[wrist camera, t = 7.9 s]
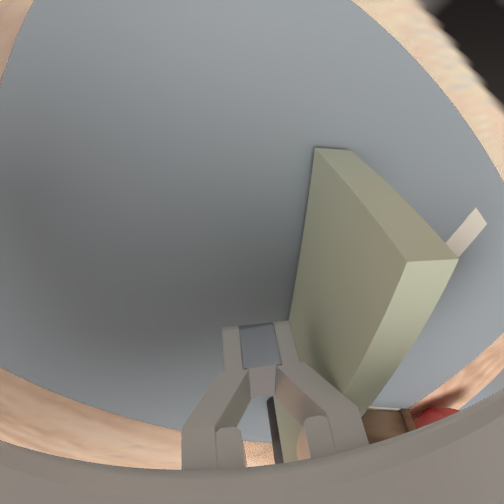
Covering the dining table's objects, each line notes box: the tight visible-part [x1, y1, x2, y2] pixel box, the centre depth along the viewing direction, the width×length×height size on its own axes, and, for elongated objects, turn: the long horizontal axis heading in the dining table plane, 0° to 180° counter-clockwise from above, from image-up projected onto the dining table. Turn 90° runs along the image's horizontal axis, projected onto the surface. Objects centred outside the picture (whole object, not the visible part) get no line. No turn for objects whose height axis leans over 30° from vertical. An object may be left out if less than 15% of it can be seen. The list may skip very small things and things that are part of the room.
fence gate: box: [273, 148, 459, 463], centre depth 11 cm, size 15×1×6 cm, turn 178°
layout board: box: [0, 0, 504, 443], centre depth 16 cm, size 34×26×1 cm
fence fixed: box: [266, 396, 416, 464], centre depth 19 cm, size 16×2×7 cm, turn 57°
